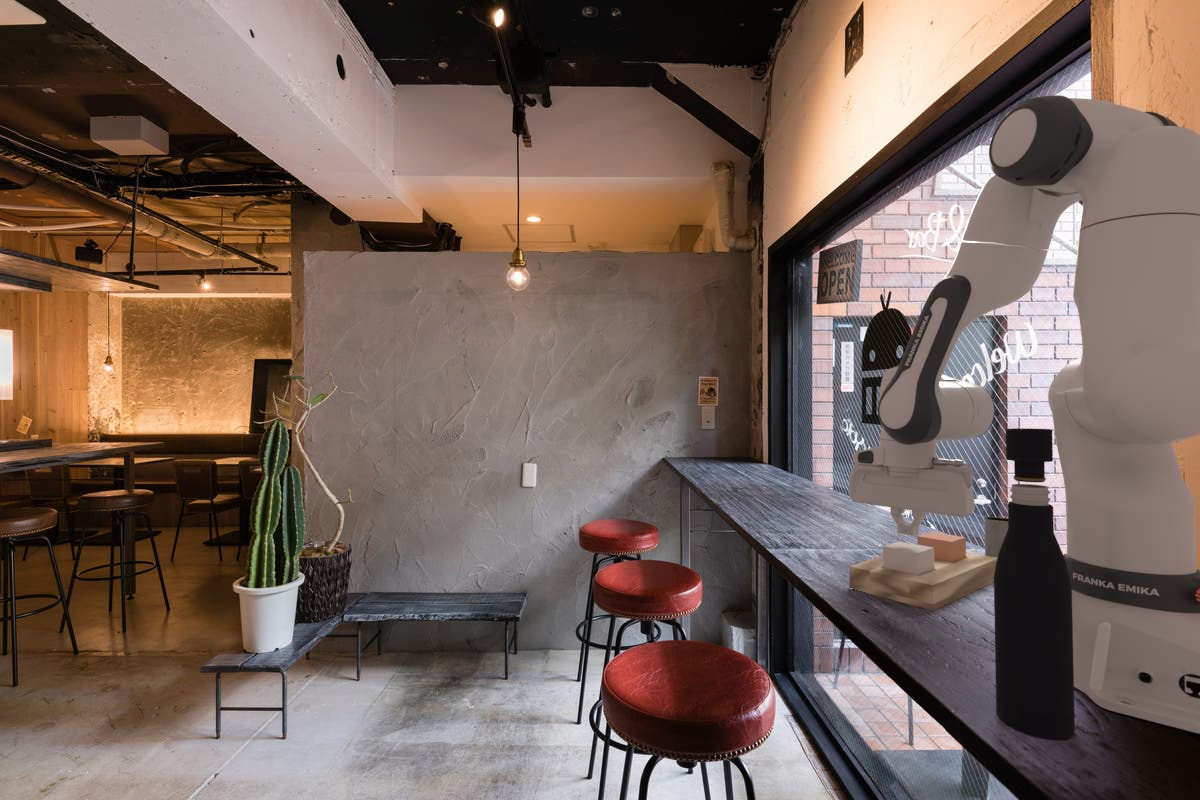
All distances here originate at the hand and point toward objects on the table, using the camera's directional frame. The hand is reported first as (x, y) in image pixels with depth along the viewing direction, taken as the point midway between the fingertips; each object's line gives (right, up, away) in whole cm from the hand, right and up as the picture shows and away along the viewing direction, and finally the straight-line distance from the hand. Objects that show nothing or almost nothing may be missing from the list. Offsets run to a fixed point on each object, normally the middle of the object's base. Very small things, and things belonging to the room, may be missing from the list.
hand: (907, 534), depth 101 cm
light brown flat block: (+5, -10, +4) cm, 12 cm away
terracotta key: (+10, -6, +7) cm, 14 cm away
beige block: (0, -6, 0) cm, 6 cm away
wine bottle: (-10, -9, -42) cm, 45 cm away
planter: (+24, -10, +11) cm, 28 cm away
